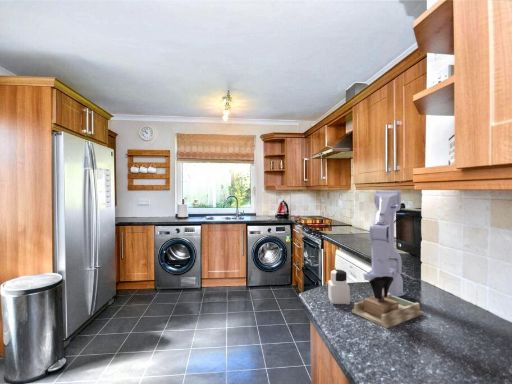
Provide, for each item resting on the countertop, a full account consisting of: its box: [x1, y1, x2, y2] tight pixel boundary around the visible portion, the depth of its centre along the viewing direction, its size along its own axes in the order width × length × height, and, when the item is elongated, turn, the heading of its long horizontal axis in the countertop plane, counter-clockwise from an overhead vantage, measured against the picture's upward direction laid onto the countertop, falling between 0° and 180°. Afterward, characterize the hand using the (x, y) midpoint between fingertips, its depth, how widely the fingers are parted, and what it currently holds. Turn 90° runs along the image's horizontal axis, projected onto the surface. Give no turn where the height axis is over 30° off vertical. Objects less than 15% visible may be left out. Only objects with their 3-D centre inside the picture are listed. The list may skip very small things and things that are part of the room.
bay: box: [351, 293, 424, 329], centre depth 99 cm, size 20×14×4 cm
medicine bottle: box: [327, 269, 351, 305], centre depth 111 cm, size 7×7×12 cm
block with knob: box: [362, 287, 399, 318], centre depth 98 cm, size 8×8×9 cm
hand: (380, 297), depth 98 cm, fingers closed on block with knob, 2 cm apart
